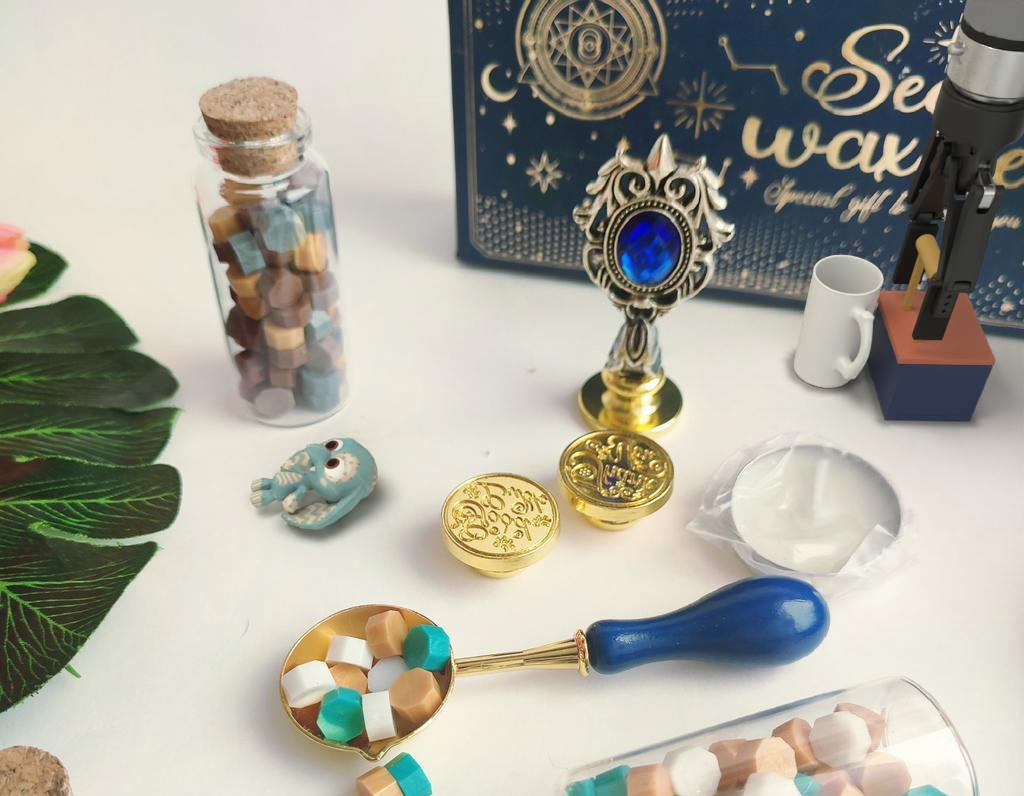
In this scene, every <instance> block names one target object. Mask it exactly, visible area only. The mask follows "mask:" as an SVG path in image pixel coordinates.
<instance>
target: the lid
mask: <svg viewBox="0 0 1024 796" xmlns="http://www.w3.org/2000/svg"><path fill="white" fill-rule="evenodd" d="M916 248H917V250H918V253H919V254H918V257H917V260H916V264H915V267H914V270H913V273H912V276H911V279H910V282H909V284H908V286H907V288H906V290H881V291H880V294H879V298H878V301H877V306H878V305H879V308H880V311H881V314H882V317H883V320H884V323H885V326H886V329H887V332H888V335H889V338H890V341H891V344H892V347H893V350H894V353H895V356H896V359H897V362H898V364H940V365H993V366H994V365H995V362H996V358H995V355H994V353H993V351H992V348H991V345H990V344H989V341H988V339H987V336H986V334H985V331H984V330H983V328H982V325H981V323H980V321H979V319H978V316H977V313H976V311H975V309H974V307H973V304H972V302H971V299H970V297H969V295H968V293H959V295H958V298H957V301H956V303H955V306H954V309H953V312H952V315H951V317H950V320H949V323H948V326H947V328H946V331H945V334H944V337H943V339H942V340H913V337H912V332H913V330H914V327H915V324H916V321H917V318H918V315H919V312H920V309H921V306H922V303H923V300H924V297H925V294H926V291H927V290H924V291H923V290H918V287H919V285H920V284H919V281H920V278H921V275H922V272H923V269H924V268H925V273H926V275H927V279H931V278H936V275H937V269H938V262H939V256H940V250H941V248H940V247H939V245H938V242H937V240H936V239H935V238H934V236H932V235H930V234H925V235H922V236H921V237H919V238H918V239H917V241H916Z"/></svg>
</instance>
